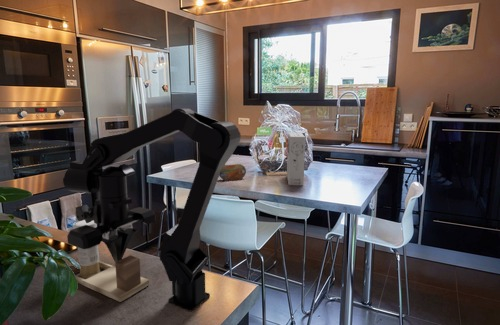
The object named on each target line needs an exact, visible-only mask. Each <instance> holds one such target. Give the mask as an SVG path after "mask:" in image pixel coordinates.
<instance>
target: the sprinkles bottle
mask: <svg viewBox="0 0 500 325" xmlns="http://www.w3.org/2000/svg"><path fill="white" fill-rule="evenodd" d="M84 225H88V226H91V227H94V228H96V227H98V224H96V223H94V220H93V221H91V222H89V223H86V221H85V220H82V221H77V222H76V223H75V225H74V229H75V228H78V227H81V226H84ZM99 254H100V253H99V244H98V245H96V246H93V247H91V248H89V249H82V248H79V247H77V255H78V257H77V259H78V258H79V264H80V266H81V269H80V272H79V277H80V278H83V279H88V278H90V277H92V276H94V275H96V274H98V273H100V272H101V268H100V267H99V261H100V257H99V256H100V255H99Z"/></svg>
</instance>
